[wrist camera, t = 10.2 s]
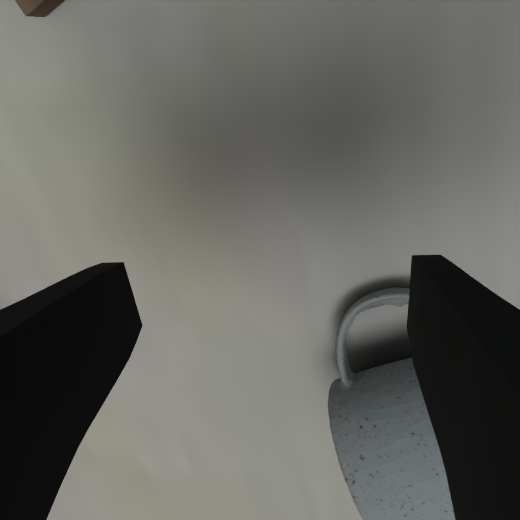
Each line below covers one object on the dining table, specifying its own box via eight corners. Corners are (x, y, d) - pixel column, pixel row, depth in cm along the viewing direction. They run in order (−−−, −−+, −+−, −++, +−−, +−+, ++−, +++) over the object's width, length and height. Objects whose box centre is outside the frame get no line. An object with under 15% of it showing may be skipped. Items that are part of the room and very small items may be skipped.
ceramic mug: (524, 402, 23) (603, 555, 16) (383, 441, 26) (399, 582, 19) (448, 249, 19) (508, 360, 13) (296, 313, 22) (279, 431, 16)
